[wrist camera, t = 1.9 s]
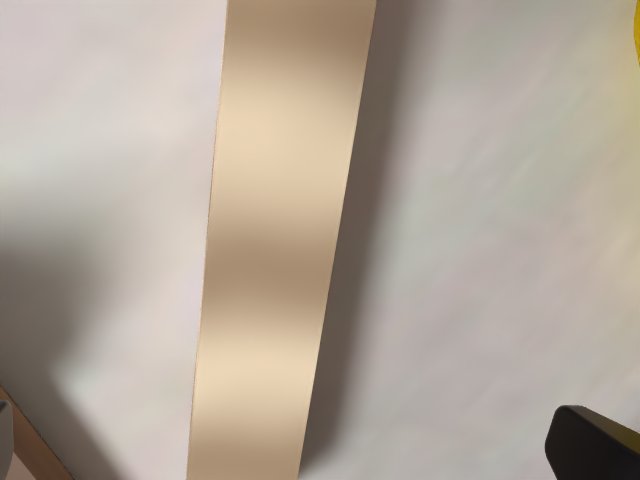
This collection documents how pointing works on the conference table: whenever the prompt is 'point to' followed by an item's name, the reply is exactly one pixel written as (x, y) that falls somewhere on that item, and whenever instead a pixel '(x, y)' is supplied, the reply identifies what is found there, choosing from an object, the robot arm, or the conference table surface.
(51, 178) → the conference table surface
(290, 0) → the beech stick
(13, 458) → the balance stand
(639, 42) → the element tile
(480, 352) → the conference table surface
